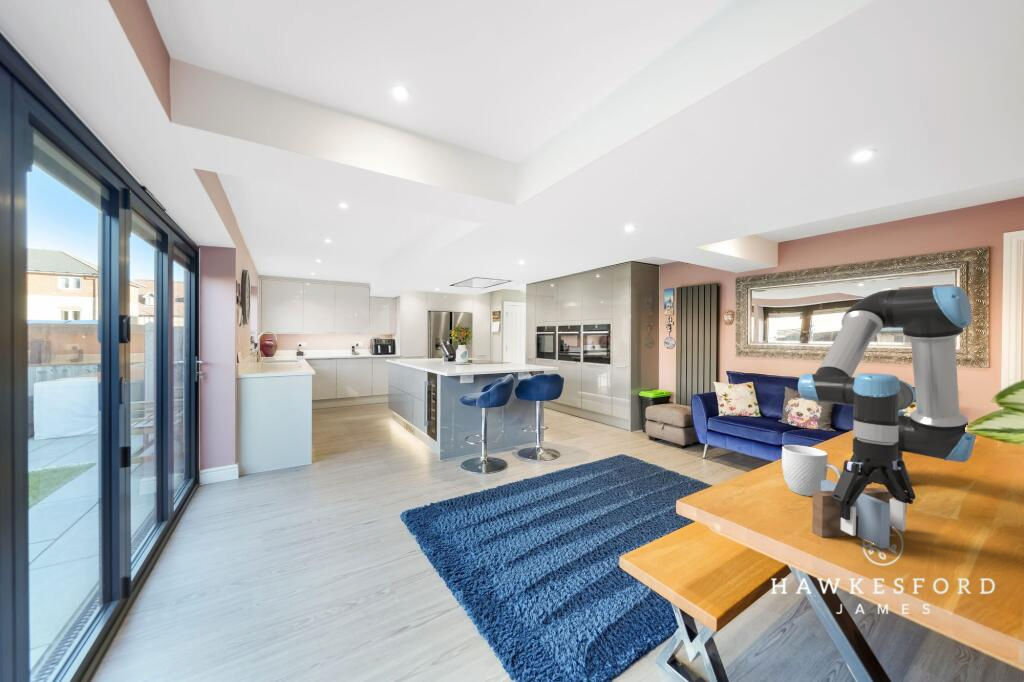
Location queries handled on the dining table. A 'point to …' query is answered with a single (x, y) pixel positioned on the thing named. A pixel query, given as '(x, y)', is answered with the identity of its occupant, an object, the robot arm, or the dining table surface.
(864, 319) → the robot arm
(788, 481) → the mug
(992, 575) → the dining table surface
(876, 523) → the pale blue flat slat
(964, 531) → the dining table surface
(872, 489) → the walnut slot plate
